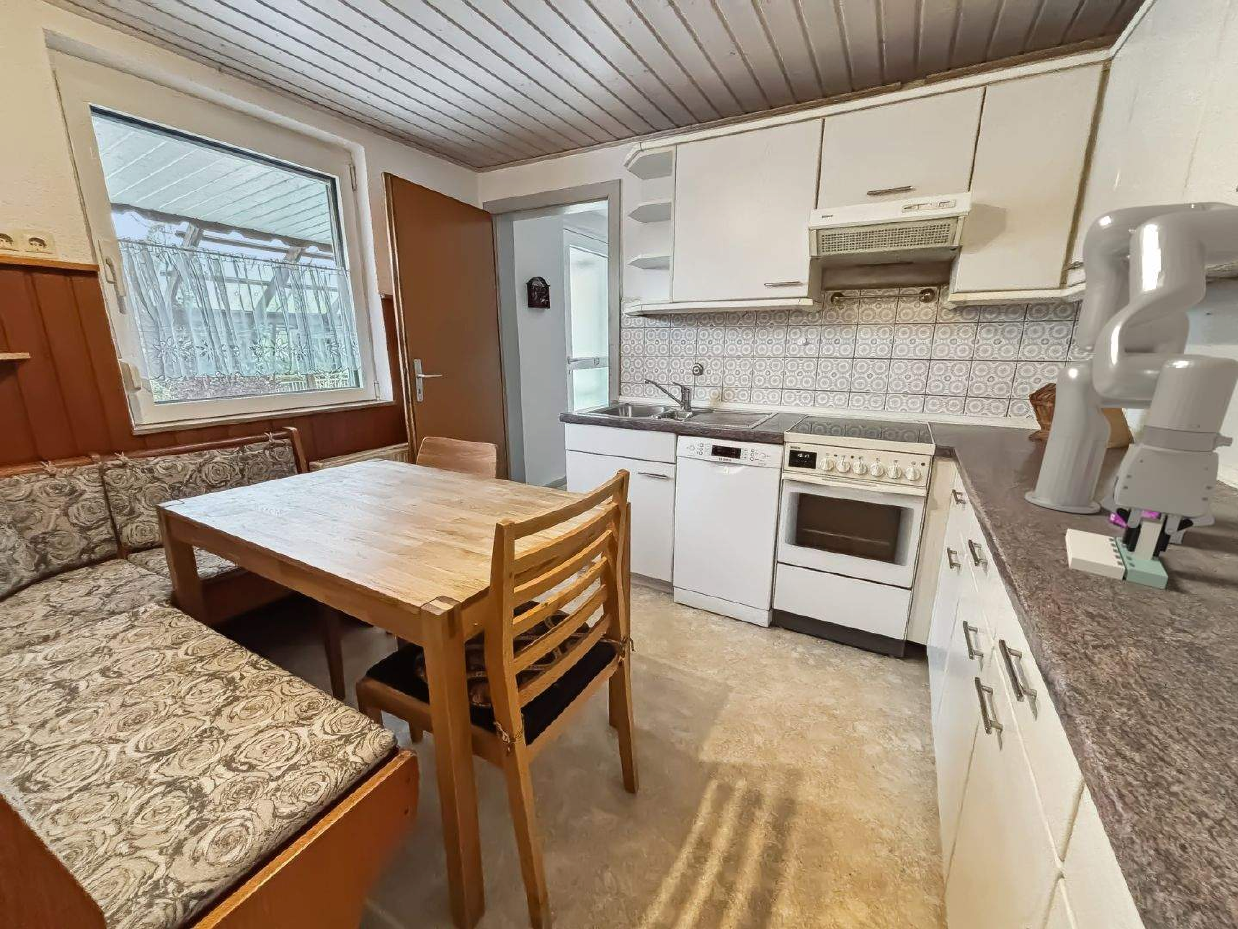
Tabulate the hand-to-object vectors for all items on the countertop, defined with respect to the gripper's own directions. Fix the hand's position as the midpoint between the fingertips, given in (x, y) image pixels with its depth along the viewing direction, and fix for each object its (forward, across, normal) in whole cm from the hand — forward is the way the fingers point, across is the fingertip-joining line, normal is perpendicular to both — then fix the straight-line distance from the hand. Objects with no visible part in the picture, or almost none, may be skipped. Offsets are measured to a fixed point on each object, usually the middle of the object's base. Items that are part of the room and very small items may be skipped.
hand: (1141, 550), depth 78 cm
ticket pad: (+3, +6, 0) cm, 6 cm away
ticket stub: (+3, 0, 0) cm, 3 cm away
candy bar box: (+3, -3, -22) cm, 22 cm away
